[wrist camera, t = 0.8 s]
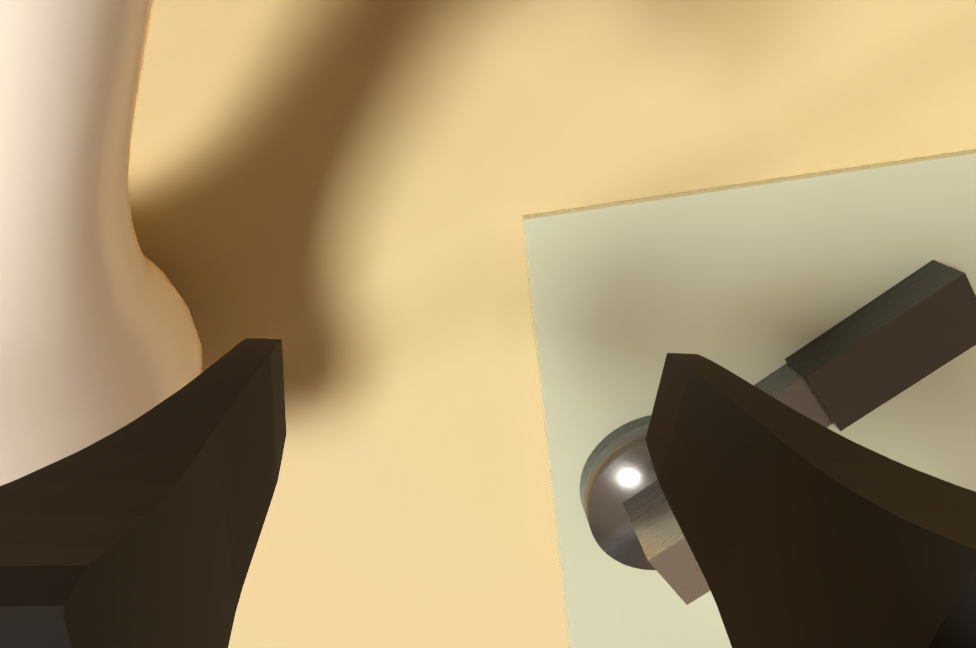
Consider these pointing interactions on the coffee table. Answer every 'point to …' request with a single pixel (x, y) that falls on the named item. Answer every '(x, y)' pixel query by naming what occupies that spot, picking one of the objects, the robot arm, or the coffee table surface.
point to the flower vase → (77, 237)
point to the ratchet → (803, 387)
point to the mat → (731, 338)
